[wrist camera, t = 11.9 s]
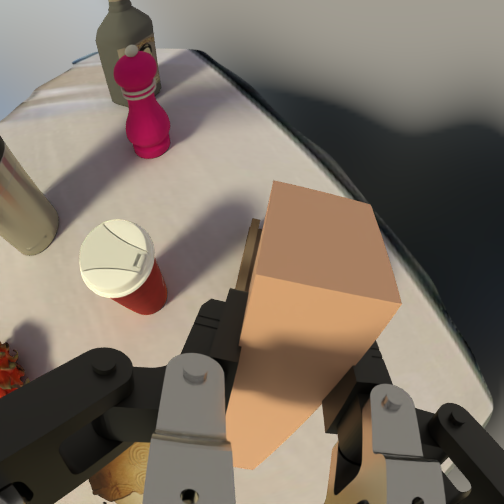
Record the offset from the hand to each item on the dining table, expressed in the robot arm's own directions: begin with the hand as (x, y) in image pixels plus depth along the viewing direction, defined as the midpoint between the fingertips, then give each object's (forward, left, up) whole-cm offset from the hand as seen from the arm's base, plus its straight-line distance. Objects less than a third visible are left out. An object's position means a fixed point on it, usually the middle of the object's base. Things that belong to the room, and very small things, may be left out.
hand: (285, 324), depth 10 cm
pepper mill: (-36, +8, -28) cm, 46 cm away
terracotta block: (+4, -5, -12) cm, 14 cm away
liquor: (-52, +12, -28) cm, 60 cm away
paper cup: (-14, -5, -28) cm, 32 cm away
